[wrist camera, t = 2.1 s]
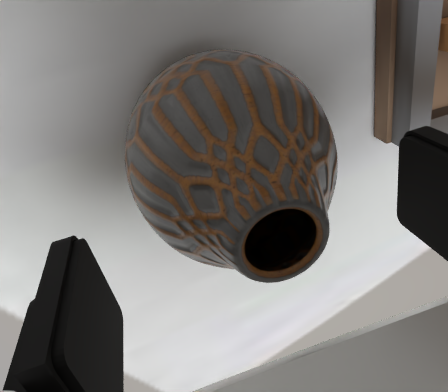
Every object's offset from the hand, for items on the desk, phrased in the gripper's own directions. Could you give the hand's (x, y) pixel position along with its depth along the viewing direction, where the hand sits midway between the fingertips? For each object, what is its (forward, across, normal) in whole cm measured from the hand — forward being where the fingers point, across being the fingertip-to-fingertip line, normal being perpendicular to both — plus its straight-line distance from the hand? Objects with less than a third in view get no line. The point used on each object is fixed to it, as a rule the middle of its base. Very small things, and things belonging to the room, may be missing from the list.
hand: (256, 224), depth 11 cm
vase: (+7, 0, -1) cm, 7 cm away
